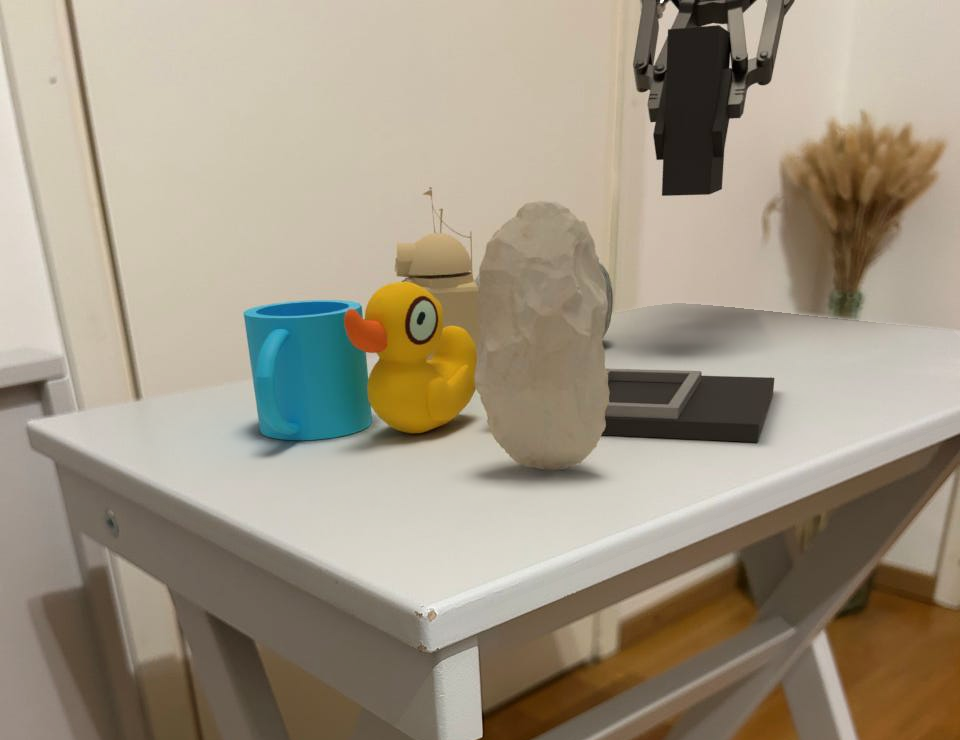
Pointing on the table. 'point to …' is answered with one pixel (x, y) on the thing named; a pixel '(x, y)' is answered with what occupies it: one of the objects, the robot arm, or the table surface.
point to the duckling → (413, 358)
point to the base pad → (686, 405)
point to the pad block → (693, 109)
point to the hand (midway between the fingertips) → (688, 145)
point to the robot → (443, 276)
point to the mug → (307, 370)
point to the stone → (543, 338)
